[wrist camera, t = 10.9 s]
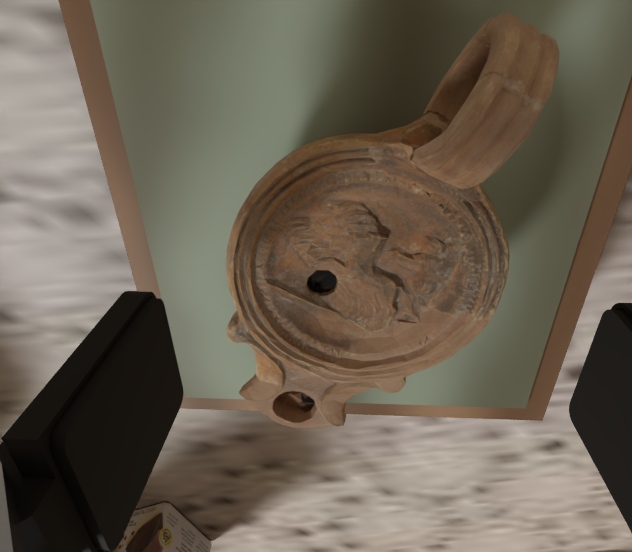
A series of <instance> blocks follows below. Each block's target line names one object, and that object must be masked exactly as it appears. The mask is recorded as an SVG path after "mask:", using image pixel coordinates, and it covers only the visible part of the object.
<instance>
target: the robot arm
mask: <svg viewBox="0 0 632 552" xmlns="http://www.w3.org/2000/svg"><path fill="white" fill-rule="evenodd" d="M182 400H183V385H182V381H181V376H180V372H179V367H178V363H177V359H176V354H175V350H174V345H173V341H172V336H171V332H170V328H169V323H168V319H167V314H166V310H165V305H164V302H163V300H162V299H160V298H156V296H155V294H154V293H153V292H140V291H126V292H124V293H123V294H122V295H121V296H120V297H119V298H118V300H117V301H116V302H115V303H114V304H113V306H112V307H111V308H110V309H109V310H108V311H107V313H106V314H105V315H104V316H103V317H102V319H101V320H100V321H99V322H98V323H97V325H96V326H95V327H94V328H93V329H92V331H91V332H90V333H89V334H88V335H87V337H86V338H85V339H84V340H83V341H82V343H81V344H80V345H79V346H78V347H77V349H76V350H75V351H74V352H73V353H72V355H71V356H70V357H69V358H68V359H67V361H66V362H65V363H64V364H63V365H62V367H61V368H60V369H59V370H58V371H57V373H56V374H55V375H54V376H53V377H52V379H51V380H50V381H49V382H48V383H47V385H46V386H45V387H44V388H43V389H42V391H41V392H40V393H39V394H38V395H37V396H36V398H35V399H34V400H33V401H32V402H31V404H30V405H29V406H28V407H27V408H26V410H25V411H24V412H23V413H22V414H21V416H20V417H19V418H18V419H17V420H16V422H15V423H14V424H13V425H12V426H11V428H10V429H9V430H8V431H7V432H6V434H5V435H4V436H3V437H2V440H3V442H2V443H1V445H0V552H108V551H113V550H115V549H116V548H117V546H118V545H119V543H120V541H121V539H122V537H123V535H124V532H125V530H126V528H127V526H128V523H129V521H130V519H131V517H132V514H133V512H134V510H135V508H136V505H137V503H138V501H139V499H140V496H141V494H142V492H143V490H144V487H145V485H146V483H147V481H148V478H149V476H150V474H151V472H152V469H153V467H154V465H155V463H156V460H157V458H158V456H159V454H160V451H161V449H162V447H163V445H164V442H165V440H166V438H167V436H168V433H169V431H170V429H171V427H172V424H173V422H174V420H175V418H176V415H177V413H178V411H179V409H180V406H181V404H182ZM569 413H570V418H571V420H572V423H573V424H574V426H575V428H576V430H577V432H578V434H579V436H580V437H581V439H582V441H583V443H584V445H585V447H586V449H587V450H588V452H589V454H590V456H591V458H592V460H593V462H594V463H595V465H596V467H597V469H598V471H599V473H600V475H601V476H602V478H603V480H604V482H605V484H606V486H607V488H608V489H609V491H610V493H611V495H612V497H613V499H614V501H615V502H616V504H617V506H618V508H619V510H620V512H621V514H622V515H623V517H624V519H625V521H626V523H627V525H628V526H629V528H630V530H631V532H632V303H617V304H615V305H614V306H613V307H612V308H611V310H606V311H605V312H604V313H603V315H602V317H601V320H600V323H599V325H598V328H597V331H596V334H595V336H594V339H593V342H592V344H591V347H590V350H589V353H588V355H587V358H586V361H585V363H584V366H583V369H582V372H581V374H580V377H579V380H578V383H577V385H576V388H575V391H574V393H573V396H572V399H571V402H570V405H569Z"/></svg>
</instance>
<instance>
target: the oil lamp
mask: <svg viewBox="0 0 632 552" xmlns="http://www.w3.org/2000/svg"><path fill="white" fill-rule="evenodd" d="M559 53H560V52H559V48H558V45H557V42H556V40H555V39H553V38H552V37H550V36H549V35H545V34H541V33H540V32H539V29H537V28H536V27H535V26H533V25H532V24H530V23H527V24H522V23H521V22H520V20H519V19H518V17H517V16H515V15H511V14H508V13H503V14H501V15H499V16H498V17H496V18H493V17H491V18H490V19H489V20H488V21H487V22H486V23H484V24H483V26H482V27H481V28H480V29H479V30H478V31H477V33H476V34H475V35H474V36H473V37H472V39H471V40H470V41H469V42H468V43H467V45H466V46H465V48H464V49H463V50H462V52H461V53H460V55H459V56H458V58H457V59H456V60H455V62H454V63H453V65H452V66H451V67H450V69H449V70H448V72H447V73H446V75H445V76H444V77H443V79H442V81H441V82H440V84H439V86H438V87H437V89H436V91H435V92H434V94H433V96H432V98H431V100H430V102H429V104H428V105H427V107H426V109H425V111H424V113H423V115H422V116H421V117H420V118H419V119H418V120H416V121H414V122H412V123H411V124H409V125H407V126H403V127H399V128H395V129H391V130H388V131H384V132H380V133H376V134H367V133H356V134H347V135H339V136H333V137H327V138H322V139H319V140H317V141H314V142H311V143H309V144H306V145H304V146H302V147H300V148H298V149H296V150H294V151H292V152H290V153H289V154H288V155H286V156H285V157H284V158H282V159H281V160H280V161H278V162H277V163H276V164H275V165H274V166H273V167H272V168H271V169H270V170H269V171H268V172H267V173H266V174H265V175H264V176H263V177H262V178H261V179H260V180H259V181H258V182H257V183H256V184H255V186H254V187H253V189H252V191H251V192H250V194H249V195H248V197H247V199H246V200H245V202H244V203H243V205H242V207H241V208H240V210H239V212H238V214H237V217H236V219H235V221H234V224H233V226H232V229H231V233H230V238H229V242H228V246H227V257H226V271H227V278H228V284H229V291H230V293H231V296H232V298H233V300H234V303H235V305H236V308H237V311H236V312H235V313H234V315H233V316H232V318H231V320H230V322H229V324H228V326H227V328H226V332H227V337H228V338H229V339H230V340H231V341H233V342H235V343H246V344H248V345H249V346H250V347H251V348H252V349H253V350H254V353H255V359H256V372H255V375H254V377H252V378H251V379H250V380H249V381H248V382H247V383H245V384H244V385H243V386H242V388H241V390H240V391H239V394H240V395H241V396H242V397H243V398H244V399H246V400H247V401H248V402H249V403H251V404H252V405H253V406H254V407H256V408H257V409H258V410H259V411H261V412H262V413H263V414H265V415H266V416H268V417H269V418H271V419H272V420H274V421H275V422H277V423H279V424H280V425H284V426H288V427H291V428H316V427H324V426H335V425H336V426H341V425H344V422H345V418H346V414H345V406H346V401H347V399H349V398H350V397H352V396H353V395H355V394H357V393H359V392H362V391H366V390H369V389H373V388H377V389H379V390H382V391H384V392H388V393H395V392H399V391H400V390H401V389H402V388H403V386H404V385H405V383H406V377H407V376H409V375H411V374H413V373H416V372H419V371H422V370H425V369H427V368H430V367H432V366H434V365H436V364H438V363H440V362H442V361H444V360H446V359H448V358H450V357H452V356H453V355H455V354H456V353H457V352H458V351H459V350H460V349H462V348H463V347H464V346H466V345H467V344H468V343H470V342H471V341H472V340H473V339H474V338H475V337H476V336H477V335H478V334H479V333H480V332H481V330H482V329H483V328H484V327H485V326H486V325H487V324H488V322H489V321H490V320H491V318H492V317H493V315H494V313H495V311H496V309H497V307H498V305H499V302H500V298H501V295H502V292H503V290H504V288H505V285H506V281H507V277H508V272H509V256H510V254H509V245H508V241H507V238H506V235H505V232H504V229H503V227H502V224H501V222H500V219H499V217H498V215H497V212H496V210H495V208H494V206H493V204H492V202H491V200H490V198H489V197H488V195H487V194H486V192H485V191H484V189H483V188H482V186H481V185H480V183H481V182H484V181H485V180H486V179H487V178H489V177H490V176H491V175H492V174H494V173H495V172H496V171H497V170H498V169H499V168H500V167H501V166H502V165H503V164H504V163H505V162H506V161H507V159H508V158H509V157H510V156H511V155H512V154H513V153H514V152H515V151H516V150H517V148H518V147H519V146H520V145H521V144H522V143H523V142H524V141H525V140H526V139H527V137H528V136H529V134H530V132H531V130H532V128H533V126H534V124H535V122H536V120H537V118H538V116H539V114H540V112H541V111H542V109H543V107H544V106H545V104H546V102H547V101H548V99H549V97H550V96H551V93H552V90H553V86H554V83H555V79H556V76H557V72H558V65H559Z"/></svg>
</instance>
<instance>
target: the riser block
mask: <svg viewBox="0 0 632 552" xmlns="http://www.w3.org/2000/svg"><path fill="white" fill-rule="evenodd" d="M59 4H60V8H61V11H62V15H63V19H64V22H65V26H66V30H67V33H68V37H69V41H70V44H71V48H72V52H73V56H74V59H75V63H76V67H77V70H78V74H79V78H80V81H81V85H82V89H83V92H84V96H85V100H86V104H87V107H88V111H89V115H90V118H91V122H92V126H93V129H94V133H95V137H96V140H97V144H98V148H99V152H100V155H101V159H102V163H103V166H104V170H105V174H106V177H107V181H108V185H109V188H110V192H111V196H112V200H113V203H114V207H115V211H116V214H117V218H118V222H119V225H120V229H121V233H122V236H123V240H124V244H125V248H126V251H127V255H128V259H129V262H130V266H131V270H132V273H133V277H134V281H135V284H136V288H137V291H140V292H153V293H154V294H155V296H156V298H160V299H162V300H163V302H164V305H165V310H166V314H167V319H168V323H169V328H170V332H171V336H172V341H173V345H174V350H175V354H176V359H177V363H178V367H179V372H180V376H181V381H182V385H183V400H182V404H181V406H180V408H186V409H216V410H246V411H259V410H258V409H257V408H256V407H254V406H253V405H252V404H251V403H249V402H248V401H247V400H246V399H244V398H243V397H242V396H241V395H240V394H239V391H240V390H241V388H242V386H243V385H244V384H245V383H247V382H248V381H249V380H250V379H251V378H252V377H254V375H255V372H256V359H255V353H254V350H253V349H252V348H251V347H250V346H249V345H248V344H246V343H235V342H233V341H231V340H230V339H229V338H228V337H227V332H226V328H227V326H228V324H229V322H230V320H231V318H232V316H233V315H234V313H235V312H236V311H237V308H236V305H235V303H234V300H233V298H232V296H231V293H230V291H229V284H228V278H227V271H226V257H227V246H228V242H229V238H230V233H231V229H232V226H233V224H234V221H235V219H236V217H237V214H238V212H239V210H240V208H241V207H242V205H243V203H244V202H245V200H246V199H247V197H248V195H249V194H250V192H251V191H252V189H253V187H254V186H255V184H256V183H257V182H258V181H259V180H260V179H261V178H262V177H263V176H264V175H265V174H266V173H267V172H268V171H269V170H270V169H271V168H272V167H273V166H274V165H275V164H276V163H277V162H278V161H280V160H281V159H282V158H284V157H285V156H286V155H288V154H289V153H290V152H292V151H294V150H296V149H298V148H300V147H302V146H304V145H306V144H309V143H311V142H314V141H317V140H319V139H322V138H327V137H333V136H339V135H347V134H356V133H367V134H376V133H380V132H384V131H388V130H391V129H395V128H399V127H403V126H407V125H409V124H411V123H412V122H414V121H416V120H418V119H419V118H420V117H421V116H422V115H423V113H424V111H425V109H426V107H427V105H428V104H429V102H430V100H431V98H432V96H433V94H434V92H435V91H436V89H437V87H438V86H439V84H440V82H441V81H442V79H443V77H444V76H445V75H446V73H447V72H448V70H449V69H450V67H451V66H452V65H453V63H454V62H455V60H456V59H457V58H458V56H459V55H460V53H461V52H462V50H463V49H464V48H465V46H466V45H467V43H468V42H469V41H470V40H471V39H472V37H473V36H474V35H475V34H476V33H477V31H478V30H479V29H480V28H481V27H482V26H483V24H484V23H486V22H487V21H488V20H489V19H490V18H491V17H493V18H496V17H498V16H499V15H501V14H503V13H508V14H511V15H515V16H517V17H518V19H519V20H520V22H521V23H522V24H527V23H530V24H532V25H533V26H535V27H536V28H537V29H539V32H540V33H541V34H545V35H549V36H550V37H552V38H553V39H555V40H556V42H557V45H558V48H559V52H560V53H559V65H558V72H557V76H556V79H555V83H554V86H553V90H552V93H551V96H550V97H549V99H548V101H547V102H546V104H545V106H544V107H543V109H542V111H541V112H540V114H539V116H538V118H537V120H536V122H535V124H534V126H533V128H532V130H531V132H530V134H529V136H528V137H527V139H526V140H525V141H524V142H523V143H522V144H521V145H520V146H519V147H518V148H517V150H516V151H515V152H514V153H513V154H512V155H511V156H510V157H509V158H508V159H507V161H506V162H505V163H504V164H503V165H502V166H501V167H500V168H499V169H498V170H497V171H496V172H495V173H494V174H492V175H491V176H490V177H489V178H487V179H486V180H485V181H484V182H481V183H480V185H481V186H482V188H483V189H484V191H485V192H486V194H487V195H488V197H489V198H490V200H491V202H492V204H493V206H494V208H495V210H496V212H497V215H498V217H499V219H500V222H501V224H502V227H503V229H504V232H505V235H506V238H507V241H508V245H509V254H510V256H509V272H508V277H507V281H506V285H505V288H504V290H503V292H502V295H501V298H500V302H499V305H498V307H497V309H496V311H495V313H494V315H493V317H492V318H491V320H490V321H489V322H488V324H487V325H486V326H485V327H484V328H483V329H482V330H481V332H480V333H479V334H478V335H477V336H476V337H475V338H474V339H473V340H472V341H471V342H470V343H468V344H467V345H466V346H464V347H463V348H462V349H460V350H459V351H458V352H457V353H456V354H455V355H453V356H452V357H450V358H448V359H446V360H444V361H442V362H440V363H438V364H436V365H434V366H432V367H430V368H427V369H425V370H422V371H419V372H416V373H413V374H411V375H409V376H407V377H406V383H405V385H404V386H403V388H402V389H401V390H400V391H399V392H395V393H388V392H384V391H382V390H379V389H377V388H373V389H369V390H366V391H362V392H359V393H357V394H355V395H353V396H352V397H350V398H349V399H347V401H346V406H345V414H364V415H394V416H424V417H453V418H483V419H513V420H543V417H544V414H545V412H546V409H547V406H548V403H549V400H550V398H551V395H552V392H553V389H554V386H555V383H556V381H557V378H558V375H559V372H560V369H561V366H562V364H563V361H564V358H565V355H566V352H567V349H568V347H569V344H570V341H571V338H572V335H573V332H574V330H575V327H576V324H577V321H578V318H579V315H580V313H581V310H582V307H583V304H584V301H585V298H586V296H587V293H588V290H589V287H590V284H591V281H592V279H593V276H594V273H595V270H596V267H597V264H598V262H599V259H600V256H601V253H602V250H603V247H604V245H605V242H606V239H607V236H608V233H609V230H610V228H611V225H612V222H613V219H614V216H615V213H616V211H617V208H618V205H619V202H620V199H621V196H622V194H623V191H624V188H625V185H626V182H627V179H628V177H629V174H630V171H631V168H632V0H59Z"/></svg>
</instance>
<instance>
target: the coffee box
mask: <svg viewBox="0 0 632 552" xmlns="http://www.w3.org/2000/svg"><path fill="white" fill-rule="evenodd" d="M210 549H211V542H210V541H209V540H208V539H207V538H206V537H205V536H204V535H203V534H201V533H200V532H199V531H198V530H197V529H196V528H195V527H194V526H193V525H192V524H191V523H190V522H189V521H188V520H187V519H186V518H184V517H183V516H182V515H181V514H180V513H179V512H178V511H177V510H176V509H175V508H174V507H173V506H172V505H171V504H170V503H165V502H164V503H160V504H157V505H153V506H150V507H146V508H143V509H139V510H135V511H134V512H133V514H132V517H131V519H130V521H129V523H128V526H127V528H126V530H125V532H124V535H123V537H122V539H121V541H120V543H119V545H118V546H117V548H116V549H115V550H113V551H108V552H210Z"/></svg>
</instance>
